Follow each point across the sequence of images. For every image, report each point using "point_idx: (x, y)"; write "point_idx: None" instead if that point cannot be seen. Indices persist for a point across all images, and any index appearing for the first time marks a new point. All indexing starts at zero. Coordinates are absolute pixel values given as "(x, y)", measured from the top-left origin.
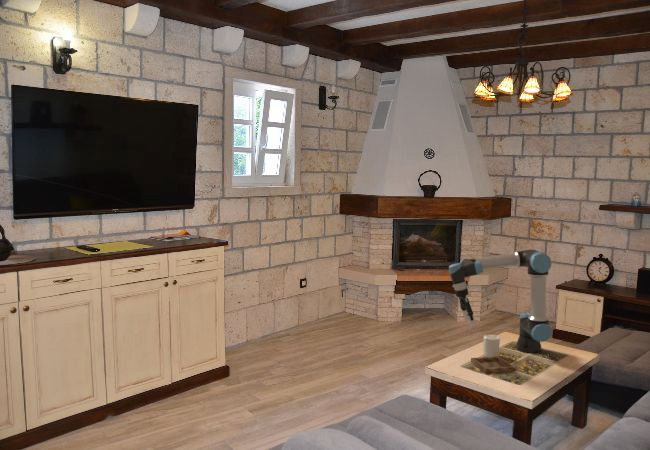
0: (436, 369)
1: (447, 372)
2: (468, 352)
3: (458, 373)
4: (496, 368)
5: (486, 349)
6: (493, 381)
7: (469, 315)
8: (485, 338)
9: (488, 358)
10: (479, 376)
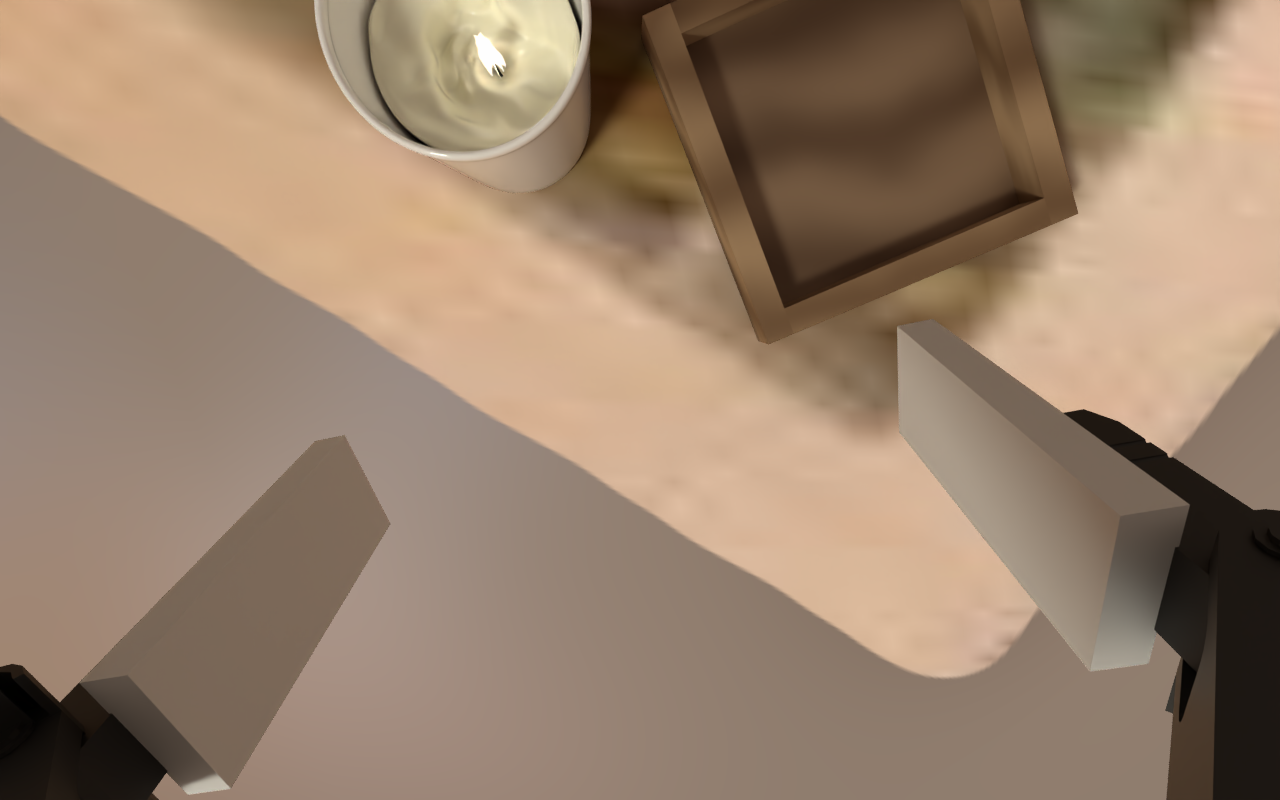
0: (994, 635)
1: None
2: (466, 351)
3: None
4: (1044, 93)
5: (566, 152)
6: (1229, 159)
7: (1150, 621)
8: (543, 130)
9: (723, 153)
10: (1119, 280)
